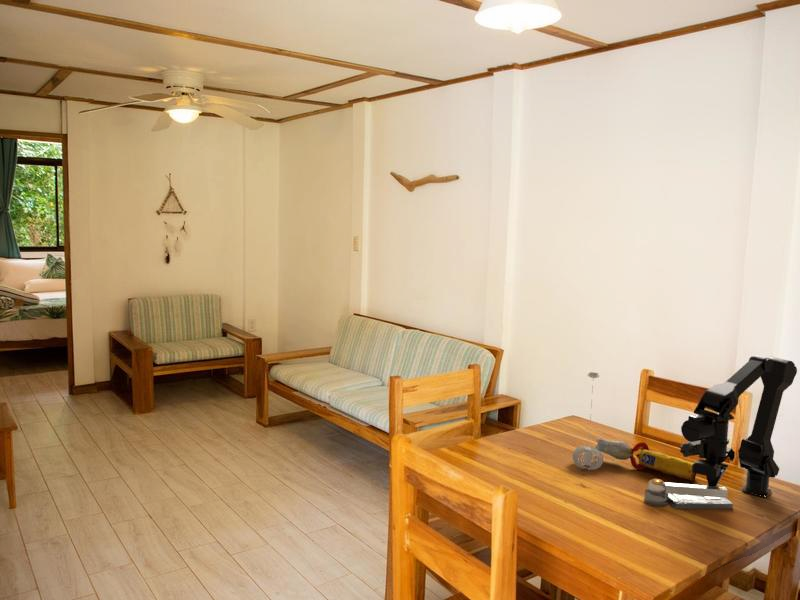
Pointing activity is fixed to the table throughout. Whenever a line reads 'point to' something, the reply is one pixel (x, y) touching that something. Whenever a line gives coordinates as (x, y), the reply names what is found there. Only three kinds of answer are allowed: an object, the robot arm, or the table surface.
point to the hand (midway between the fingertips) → (711, 490)
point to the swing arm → (686, 489)
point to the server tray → (698, 502)
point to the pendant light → (588, 449)
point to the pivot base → (656, 499)
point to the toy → (647, 458)
